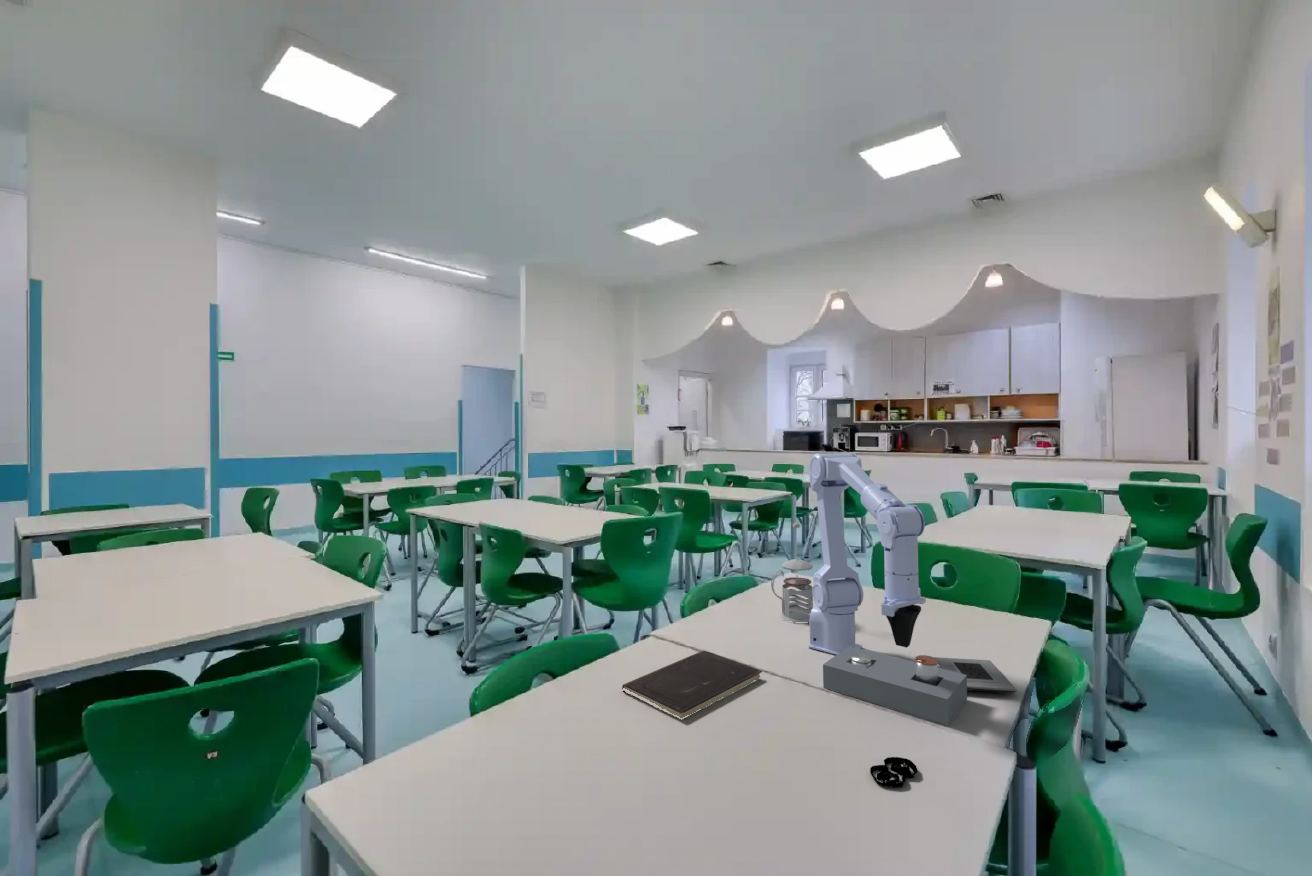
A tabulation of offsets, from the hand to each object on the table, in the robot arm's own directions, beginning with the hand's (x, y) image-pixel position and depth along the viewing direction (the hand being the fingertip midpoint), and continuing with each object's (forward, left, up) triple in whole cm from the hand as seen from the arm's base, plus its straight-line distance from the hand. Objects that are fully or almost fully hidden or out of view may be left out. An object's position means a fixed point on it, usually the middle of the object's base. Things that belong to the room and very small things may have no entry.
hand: (902, 645), depth 104 cm
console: (-2, 0, -10) cm, 10 cm away
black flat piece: (+7, -25, -10) cm, 28 cm away
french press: (-37, +27, -10) cm, 47 cm away
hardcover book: (-33, -21, -10) cm, 40 cm away
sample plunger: (-8, 0, -9) cm, 12 cm away
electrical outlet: (+8, +15, -10) cm, 20 cm away
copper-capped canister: (+4, 0, -6) cm, 8 cm away
